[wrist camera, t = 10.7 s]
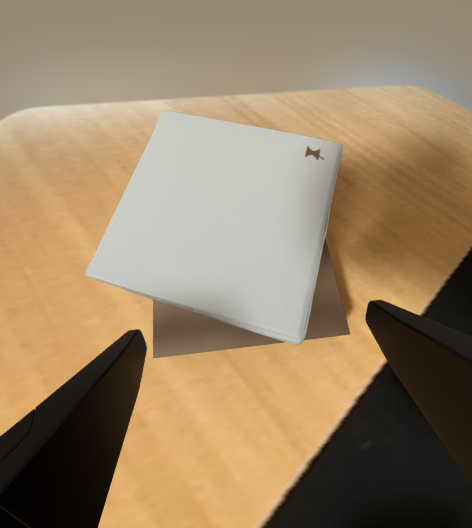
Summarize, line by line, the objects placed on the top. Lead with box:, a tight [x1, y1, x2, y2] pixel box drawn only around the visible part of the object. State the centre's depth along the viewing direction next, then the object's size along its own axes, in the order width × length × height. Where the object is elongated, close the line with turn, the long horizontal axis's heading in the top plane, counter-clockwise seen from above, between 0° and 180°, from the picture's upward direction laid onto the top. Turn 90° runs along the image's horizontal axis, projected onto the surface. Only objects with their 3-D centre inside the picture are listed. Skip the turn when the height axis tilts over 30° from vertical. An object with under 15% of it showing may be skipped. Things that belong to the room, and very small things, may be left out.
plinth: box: [153, 240, 350, 358], centre depth 22 cm, size 16×16×3 cm
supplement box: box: [85, 111, 343, 345], centre depth 14 cm, size 7×7×13 cm
